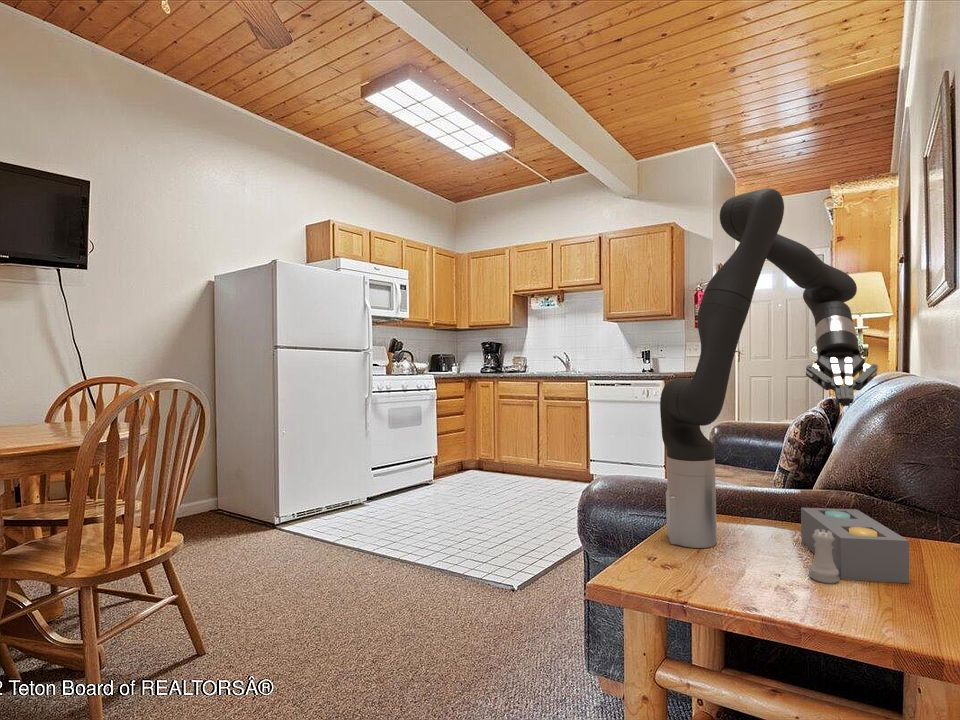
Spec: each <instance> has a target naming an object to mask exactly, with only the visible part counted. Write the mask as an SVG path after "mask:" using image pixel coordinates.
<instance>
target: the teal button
mask: <svg viewBox="0 0 960 720" xmlns="http://www.w3.org/2000/svg"><path fill="white" fill-rule="evenodd" d="M825 516H827V517H828V518H847V519H850V514H848V513H845V512H841V511H826V512H825Z"/></svg>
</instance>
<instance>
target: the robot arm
mask: <svg viewBox="0 0 960 720" xmlns="http://www.w3.org/2000/svg"><path fill="white" fill-rule="evenodd" d="M784 213H785V203H784V198H783V196H782V194H781V193H780V192H779V191H778V190H777V189H774V188H762V189H757V190H756V189H755V190H753V191H750V192H746V193H741V194H738V195H735V196H733V197H730V198H728V199H727V200H726V201H725V202H723V204H722V206H721V208H720V211H719V222H720V226H721V228H722V229H723V231H724V232H725V233H726V234H727V236H729V237H730V238H732V239H734V240H735V241H737V242H739V243H738V245H737V247H736V249H735V250H734V252H733V253H732V254H731V255H730V257H729V258H728V259H727V260H726V262H724V264H723V265H722V266H720V268H719V269H718V270H717V271H716V273H715V274H714V275H713V276H712V277H711V279H710V280H709V282H708V283H707V285H706V287H705V289H704V292H703V293H702V294H703V295H702V297H701V300H700V303H699V307H698V309H697V315H696V322H697V323H696V325H697V330H698V331H697V332H698V335H699V341H700V355H699V360H698V363H697V365H696V370H695V372H694V374H693V376H692V378H688V377H686V378H685V377H680V378H679V377H678V378H672V379H671V380H669V381H668V382H667V383H665V385H664V386H663V389H662V391H661V392H660V400H659V401H660V402H659V408H660V409H659V410H660V411H659V413H660V425H661V436H662V437H661V438H662V442H663V444H664V447H665V450H666V475H667V476H666V483H667V485H666V486H667V489H666V490H665V507H666V508H665V509H666V511H665V512H666V519H665V520H666V535H667V539H668V541H669V543H670V544H671V545H677V546H681V547H684V548H685V547H686V548H695V549H705V548H711V547H714V546H716V545H717V543H718V542H717V541H718V539H717V538H718V537H717V536H718V533H717V499H716V498H717V496H716V495H717V492H716V489H717V487H716V451H715V450H716V447H715V445H714V444H713V442H711V440H710V439H708V437H706V436H705V435H704V433H703V432H702V429H701V426H708V425H710V424H712V423H714V422H715V421H716V420H717V419H718V417H719V415H720V414H721V411H722V410H723V407H724V403H725V399H726V395H727V390H728V384H729V379H730V375H731V370H732V365H733V361H734V359H735V358H734V357H735V354H736V351H737V347H738V344H739V340H740V337H741V333H742V330H743V327H744V325H745V322H746V319H747V316H748V314H749V311H750V309H751V304H752V301H753V298H754V297H753V296H754V294H755V291H756V288H757V284H758V281H759V280H760V279H759V278H760V277H761V276H760V275H761V273H762V270H763V267H764V264H765V262H766V260H767V261H769V262H770V263H772V264H773V265H774V266H776V268H778V269H779V270H780V271H781V272H783V273H784V274H785V275H786V276H787V277H788V278H789V279H790V280H791V281H792V282H793V283H794V284H795V285H796V286H797V287H800V289H803V290H804V291H803V293H802V299H803V301H804V303H805V305H806V306H807V307H808V309H809V310H810V311H811V313H812V316H813V319H814V324H815V326H814V327H815V335H814V336H815V345H816V354H817V358H816V361H815V364H813V365H812V364H807V365H806V367H805V369H806V370H805V375H806V376H807V378H808V379H810V380H812V381H813V382H815V383H816V384H817V385H818V386H820V387H821V388H822V389H823V390H825V391H829V390H832V391H834V394H835V401H836V403H837V404H840V407H844V406H845V407H850V405H851V404H853V403H854V400H855V395H854V391H861V390H863V389H864V387H865V386H867V385H868V384H869V383H870V382H871V381H872V380H874V378H875V377H876V376H877V374H878V369H879V366H878V364H877V363H876V364H875V363H872V364H868V363H866V361H865V359H864V358H863V357H862V355H861V352H860V346H859V340H858V336H857V331H856V327H855V326H854V321H853V315H852V310H851V308H850V306H848V304H847V303H846V302H848V301H850V300H852V299H853V298H855V296H856V295H857V291H858V288H857V284H856V282H855V280H854V279H853V278H852V276H850V274H848V273H846V272H844V271H842V270H841V269H839V268H836V267H833V266H831V265H830V264H827V263H826V262H824V261H823V260H821V258H819V256H818V255H816V253H815V252H814V251H812V250H811V248H809V247H807V246H806V245H804V244H802V243H800V242H798V241H796V240H793V239H791V238H788V237H785V236H784V235H781V234H779V233H778V232H779V231H780V228H781V225H782V222H783V218H784ZM861 371H862V373H861V374H859V373H860V372H861ZM858 374H859V376H857V375H858ZM856 376H857V377H856ZM854 377H856V378H855V379H853V378H854Z"/></svg>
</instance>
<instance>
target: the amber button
mask: <svg viewBox="0 0 960 720" xmlns="http://www.w3.org/2000/svg"><path fill="white" fill-rule="evenodd" d="M849 533H850V534H852V535H853V536H874V537H877V532H876V531H874V530H872V529H868V528H862V527H851V528H849Z"/></svg>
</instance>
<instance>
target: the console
mask: <svg viewBox="0 0 960 720" xmlns="http://www.w3.org/2000/svg"><path fill="white" fill-rule="evenodd" d="M826 511H841V512H845V513H848V514H850V519H847V518H828V517H827V516H825V512H826ZM851 527H862V528H868V529H872V530H874V531H876V532H877V537H874V536H853V535H852V534H850V533H849V528H851ZM800 528H801V529H800V532H801V537H800V538H801V544H803V545H804V546H805V547H806V546H807V547H808V548H809V549H810V550H811V551H812V552H813V553H814V554H813V553H812V552H811V551H810V550H809V549H808V548H807V547H806V548H807V549H808V550H809V551H810V552H811V553H812V554H813V555H815V546H814V544H815V540H814V538H813V537H812V535H813V534H814V533H815V530H816V529H819V530H820V532H822V529H823V530H825V533H827V531H831V532H832V536H833V537H834V538H835V540H834V541H833V542H832V546H833V549H832V556H833V561H834V564H835V565H836V568H837V569H838V571H839V575H838V577H839V578H841V579H840V580H842V579H849V580H848V581H859V580H863V581H862V582H877V583H878V582H883V583H896V584H898V583H899V584H910V583H911V582H910V579H911V577H910V576H911V575H910V540H908V539H907V538H905V537H903V536H902V535H900V534H898V533H897V532H895V531H894V530H892V529H890V528H888V527H887V526H885V525H883V524H882V523H880V522H879V521H877V520H876V519H873V518H872V517H870V516H869V515H867V514H866V513H864V512H862V511H860V510H859V509H857V508H855V509H853V508H852V509H851V508H827V507H826V508H825V507H822V508H821V507H801V508H800ZM850 579H851V580H850Z"/></svg>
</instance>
